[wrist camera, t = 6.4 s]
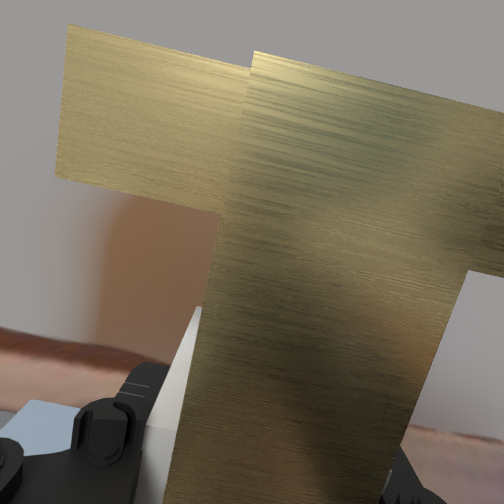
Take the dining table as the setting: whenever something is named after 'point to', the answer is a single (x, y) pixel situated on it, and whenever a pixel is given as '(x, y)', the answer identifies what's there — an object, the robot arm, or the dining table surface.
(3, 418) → the tray
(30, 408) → the cover plate
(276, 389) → the t key
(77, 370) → the dining table surface
